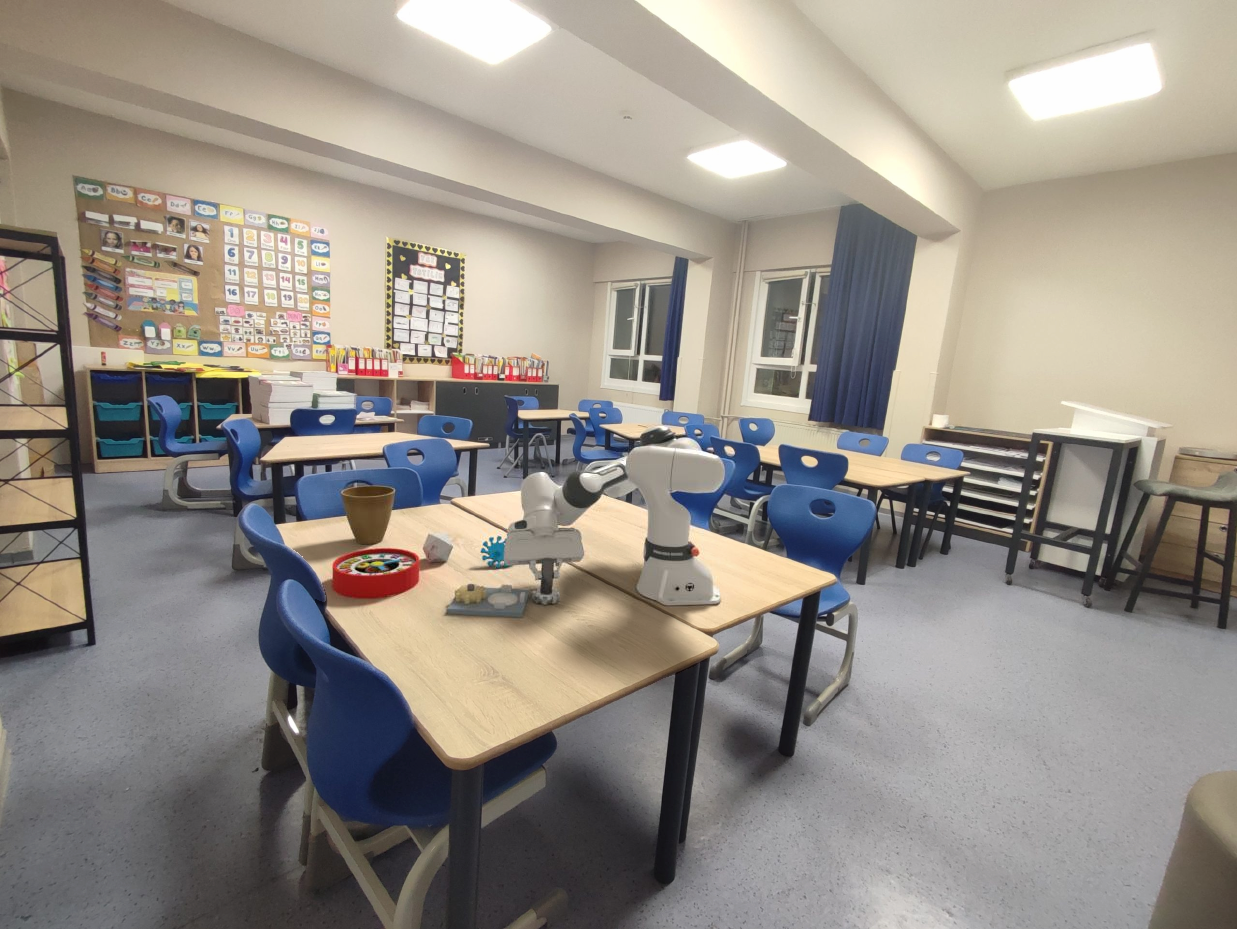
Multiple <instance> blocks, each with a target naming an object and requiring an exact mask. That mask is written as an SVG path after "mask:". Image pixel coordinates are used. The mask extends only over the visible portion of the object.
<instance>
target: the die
mask: <svg viewBox="0 0 1237 929" xmlns="http://www.w3.org/2000/svg"><path fill="white" fill-rule="evenodd" d="M453 548H454V545H453V543H452V541H451V538H450V536H449V534H448V532H438V533H437V532H435V533H431V532H430V533H428V534H427V537H426V539H425V541H424V544H423V547H422V550H423V553H424V555H425V558H426V560H427V563H444V562H445V563H447V562H448V560H449V559H450V555H451V553H452V550H453Z"/></svg>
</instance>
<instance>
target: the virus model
mask: <svg viewBox="0 0 1237 929" xmlns="http://www.w3.org/2000/svg"><path fill="white" fill-rule="evenodd" d="M506 539H507V537H505V538H504V540H503V541H502V536H501V535H497V537H496V542H494V540H495V538H494V536H489V538H488V541H489V542H490V545H488V543H489V542H488V541H487V540H486V541H484V542H483V543H482V546H483V547H482V548H481V549H480V553H481V554H484V555H482V557H481V558H482V561H483V562H484V561H486V560H487V562H486V565H487V566H488V567H491V566H492V565H493V564H494V563H496V562H497V563H496V564H495V566H494V568H495V569H497V570H498V569H500V567H501V562H503V564H502V568H507V567H509V566H508V565H506V564H505V563H504V546H505V542H506ZM484 547H485V548H484ZM486 548H487V550H486ZM485 554H487V555H485Z"/></svg>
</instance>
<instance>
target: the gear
mask: <svg viewBox="0 0 1237 929" xmlns="http://www.w3.org/2000/svg"><path fill="white" fill-rule="evenodd" d="M554 570H555V563H554V559H552V558H543V559H542V564H541V570H540V571H542V579H541V580H540V586H539V587H537V588H536V589H535V590H533V591H532V599H533V603H534V602H535V603H536V604H537V603H540V604H542V605H548V604H556V603H557V601H560V596H561V595H560V593H561V592H559V591H558V589H556V588H554V586H553V584H554V579H553V572H554Z"/></svg>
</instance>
